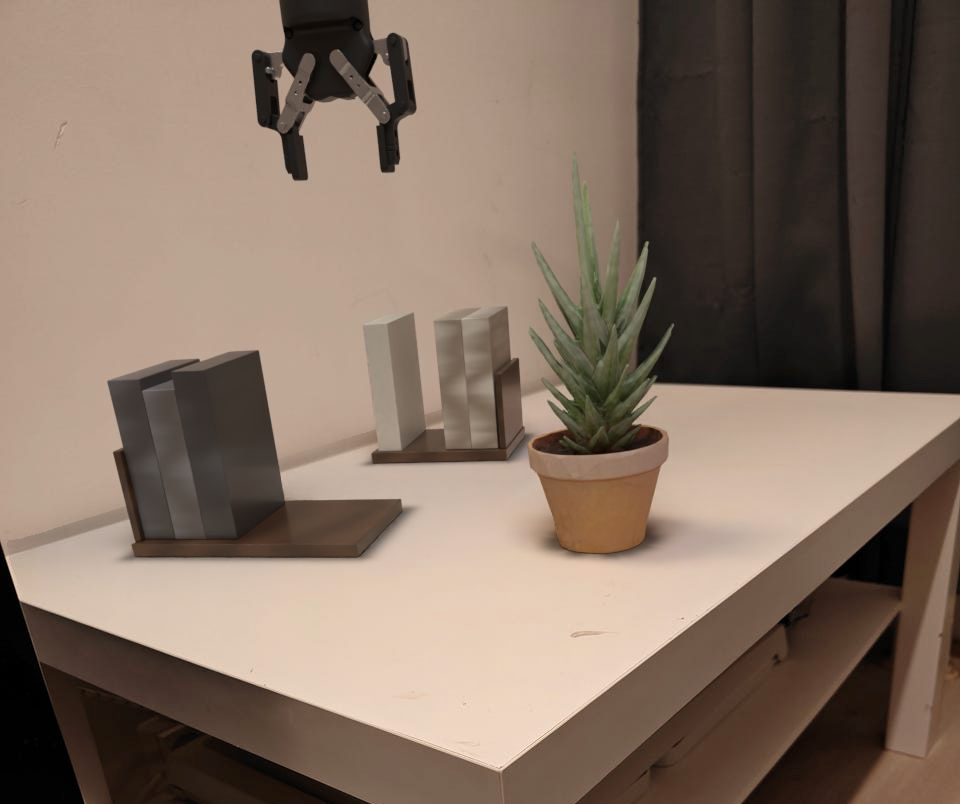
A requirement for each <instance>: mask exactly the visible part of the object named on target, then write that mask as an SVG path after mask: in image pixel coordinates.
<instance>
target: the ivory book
mask: <svg viewBox="0 0 960 804" xmlns="http://www.w3.org/2000/svg"><path fill="white" fill-rule="evenodd" d="M362 331H363V337H364V339H363V340H364V345H365V354H366V355H365V356H366V360H367V370H368V378H369V379H368V380H369V386H370V394H371V395H370V396H371V401H372V409H373V417H374V426H375V433H376V434H375V435H376V441H377V449H378V450H379V452H386V451H402V450H403V449H405V448H406V447H407V446H408V445H409V444H410V443H411V442H413V441H414V440H415V439H416V438H417V437H418V436H420V435H421V434H422V433H423V432H424V431H425V430H426V429H427V426H426V425H427V424H426V415H425V407H424V396H423V388H422V378H421V367H420V359H419V358H420V357H419V350H418V349H419V348H418V339H417V331H416V320H415V312H414V311H406V312H405V311H404V312H403V311H402V312H391V313H389V314H386V315H384V316H381V317H379V318H376V319H374V320H371V321H368V322H366V323H364V324H362Z"/></svg>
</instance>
